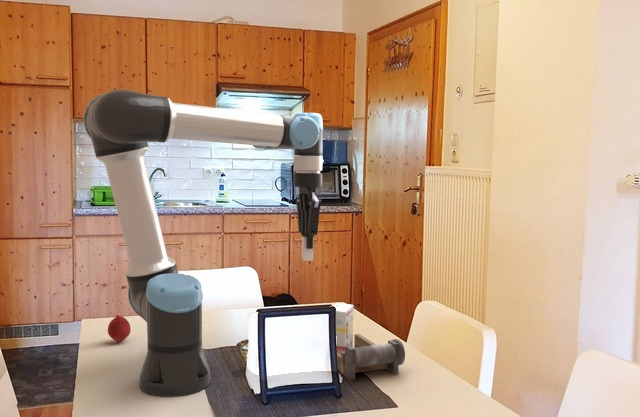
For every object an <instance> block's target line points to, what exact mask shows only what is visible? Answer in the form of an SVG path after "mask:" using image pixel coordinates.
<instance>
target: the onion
mask: <svg viewBox="0 0 640 417" xmlns="http://www.w3.org/2000/svg"><path fill="white" fill-rule="evenodd" d="M131 330H132V329H131V323H130V322H129V321H128V320H127V318H125V317H124V316H123V315H121V313H119V312H117V313H116V316H115V317H113V318H112V319H111V320H110V321H109V323H108V327H107V334H108V335H109V337H110V338H111V339H112V340H113V341H115V342H116V343H117V344H120V343H122V342H123V341H124V340H126V339H127V338H128V337H129V336H130V334H131Z"/></svg>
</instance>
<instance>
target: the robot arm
mask: <svg viewBox="0 0 640 417" xmlns="http://www.w3.org/2000/svg"><path fill="white" fill-rule="evenodd" d="M88 103H89V104H88V105H87V107H86V109H85V112H84V116H83V125H84V126H83V127H84V129H85V132H86V134H87V135H88V137H89V138H90V140H91V143H92V147H93V151H94V154H95V158H96V159H97V160H99V161H100V162H102V163H103V164H104V166H105V169H106V174H107V176H108V182H109V185H110V189H111V193H112V197H113V201H114V206H115V209H116V212H117V215H118V221H119V226H120V229H121V232H122V235H123V236H122V237H123V240H124V245H125V248H126V252H127V256H128V260H129V263H130V264H129V266H128V268H127V269H126V271H125V277H126V280H127V284H128V291H127V297H128V302H129V304H130V306H131V308H132V310H133V311H134V312H135V314H137V315H138V316H139V317H140V318H142V319H143V320H144V321H145V322H146V326H147V328H146V331H147V332H146V333H147V334H146V335H147V352H146V353H145V354H146V355H145V358H144V361H143V365H142V368H141V371H140V373H139V388H140V390H141V391H142V392H144V393H146V394H148V395H152V396H155V397H180V396H184V395H185V396H186V395H190V394H194V393H198V392H200V391H202V390H204V389H205V388H207V387H209V385H210V384H209V383H211V370H210V366H209V365H208V364H209V363H208V361H207V358H206V354H205V352H204V349H203V298H204V297H203V296H204V295H203V292H202V284H201V282H200V280H199V279H197V277H195V276H193V275H189V274H184V273H179V271H178V270H179V269H178V266H177V262H176V260H175V259H174V258H172V257H171V256H169V255H168V253H167V249H166V244H165V240H164V236H163V233H162V228H161V224H160V219H159V215H158V212H157V207H156V203H155V198H154V193H153V190H152V185H151V182H150V177H149V173H148V170H147V164H146V160H145V154H146V153H147V151H148V149H149V145H148V144H149V143H164V144H165V143H166V142H168V141H169V140H171V139H173V140H183V141H184V140H185V141H187V140H188V141H196V142H197V141H198V142H199V141H200V142H209V143H210V142H211V143H212V142H213V143H222V144H223V143H224V144H234V145H235V144H236V145H249V146H253V148H254V149H260V150H264V151H266V150H293V171H295V173H294V174H293V186H294V187H295V188H299V193H298V196H295V198H294V200H295V204H296V213H297V214H296V215H297V224H298V225H297V226H298V227H297V228H298V233H300V235H301V261H303V262H309V261H310V262H311V261H312V262H313V261H314V248H315V246H314V244H315V243H314V241H315V240H314V239H315V238H314V237H315V236H316V235H318V233H319V220H320V212H321V211H320V210H321V207H322V206H321V205H322V199H318V198H319V197H318V191H317V188H321V187H322V186H323V174H322V172H321V171H323V163H324V159H323V144H324V143H323V140H324V139H323V137H324V136H323V133H324V126H323V117H322V115H321V114H320V113H317V112H297V113H295V114H294V115H293V116H291V115H279V114H273V113H268V112H267V113H265V112H258V111H257V112H256V111H249V110H247V111H246V110H239V109H233V108H232V109H230V108H223V107H212V106H206V105H204V106H203V105H198V104H197V105H196V104H187V103H186V104H185V103H178V102H173V101H172V100H171V99H170V98H169V97H168V96H160V95H154V94H148V93H143V92H138V91H134V90H129V89H114V90H111V91H108V92H105V93H102V94H99V95H98V96H96V97H95V98H93V99H92V100H91V101H90V102H88Z"/></svg>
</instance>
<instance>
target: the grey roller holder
mask: <svg viewBox="0 0 640 417" xmlns="http://www.w3.org/2000/svg"><path fill="white" fill-rule="evenodd" d="M353 340H354V341H353V342H354V346H353V347H352V346H350V345H348V346H345V351H344V352H341V354H340V353H339V352H338V351H337V357H338V366H339V371H338V372H340V374H342V375H344V377H345V378H347V379H349V381H353V380H356V373H357V374H358V373H363V372H370V371H377V370H385V369H387V371H389V372H390V373H392V374H395V375H396V374H399V366H401V365H403V364H404V363H405V360H406V351H405V347H404V344H403V342H402V341H401V340H400V339H399V338H394V339H391V340H387V343H381V344H377V343H374V342H373V341H371V340H369V339H368V338H366V337H364V336H363V335H362V334H359V333H355V334H354V333H353Z"/></svg>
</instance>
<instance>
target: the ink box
mask: <svg viewBox="0 0 640 417" xmlns="http://www.w3.org/2000/svg"><path fill="white" fill-rule="evenodd" d="M332 306H334V307H335V308H336V336H337V351H338V352H339V353H340V354H341V352H344V351H345V346H348V345H350V346H352V347H353V348H354V346H353V342H354V341H353V340H354V333H353V332H354V304H349V303H343V302H335V303H334V304H333V305H332Z"/></svg>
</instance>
